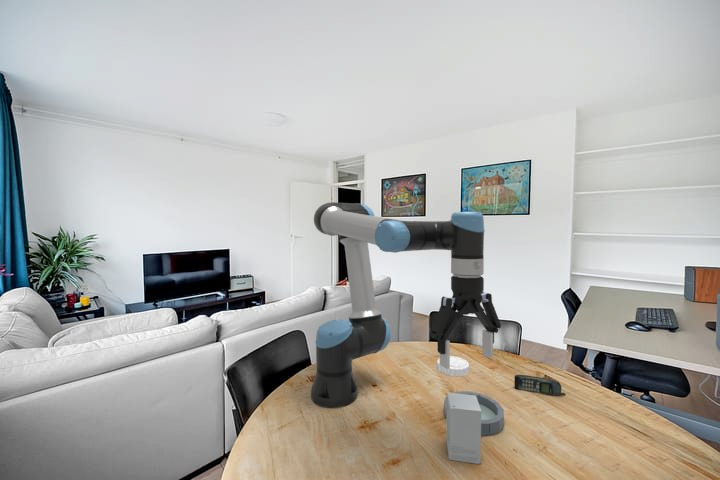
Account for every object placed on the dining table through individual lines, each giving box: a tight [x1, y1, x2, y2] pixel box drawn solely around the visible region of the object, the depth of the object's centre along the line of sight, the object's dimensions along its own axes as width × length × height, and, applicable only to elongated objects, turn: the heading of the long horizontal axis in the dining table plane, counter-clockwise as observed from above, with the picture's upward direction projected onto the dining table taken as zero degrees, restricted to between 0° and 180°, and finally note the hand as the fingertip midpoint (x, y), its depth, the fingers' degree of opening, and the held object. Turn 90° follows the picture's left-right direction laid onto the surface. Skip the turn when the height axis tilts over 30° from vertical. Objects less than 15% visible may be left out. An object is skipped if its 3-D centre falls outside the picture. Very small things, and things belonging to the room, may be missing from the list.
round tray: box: [443, 390, 505, 437], centre depth 89 cm, size 16×16×3 cm
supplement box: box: [445, 392, 482, 465], centre depth 75 cm, size 7×7×13 cm
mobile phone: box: [514, 374, 566, 396], centre depth 103 cm, size 5×3×15 cm
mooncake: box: [436, 355, 470, 378], centre depth 119 cm, size 12×12×4 cm
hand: (466, 361), depth 76 cm, fingers open, 13 cm apart
